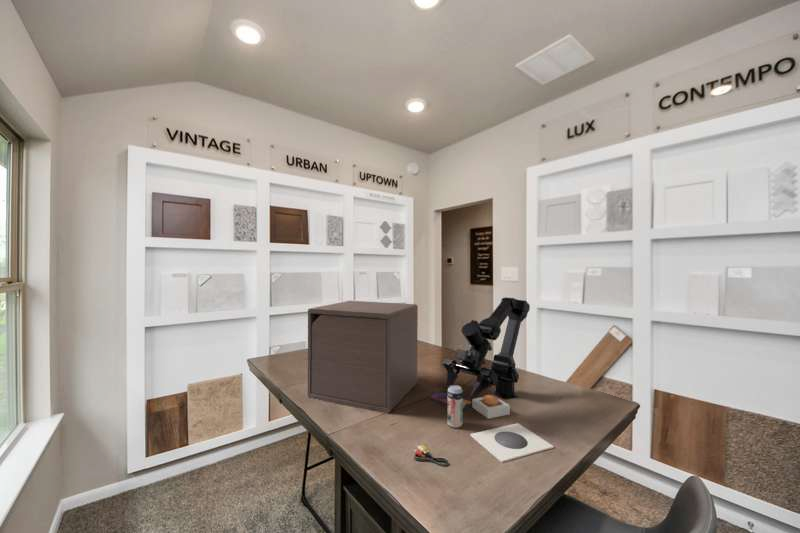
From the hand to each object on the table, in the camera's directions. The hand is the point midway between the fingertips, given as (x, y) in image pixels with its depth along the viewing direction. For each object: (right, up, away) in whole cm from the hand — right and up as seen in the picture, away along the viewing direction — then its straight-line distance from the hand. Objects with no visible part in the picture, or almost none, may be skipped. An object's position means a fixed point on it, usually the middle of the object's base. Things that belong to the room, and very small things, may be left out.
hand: (458, 394), depth 102 cm
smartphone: (0, -10, +16) cm, 19 cm away
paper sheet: (+13, -9, -11) cm, 19 cm away
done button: (+13, -7, +9) cm, 17 cm away
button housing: (+13, -9, +9) cm, 18 cm away
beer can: (-1, -9, -1) cm, 10 cm away
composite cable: (-11, -10, -20) cm, 25 cm away
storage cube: (-33, -9, +26) cm, 43 cm away
